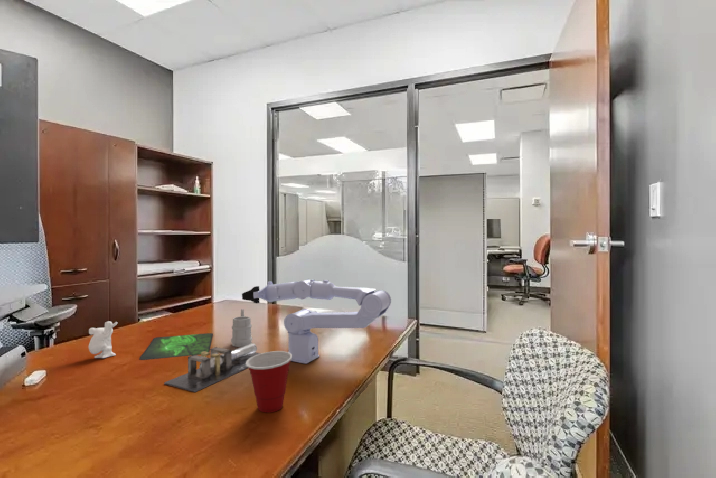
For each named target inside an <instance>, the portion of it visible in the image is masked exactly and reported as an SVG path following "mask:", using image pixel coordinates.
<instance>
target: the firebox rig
mask: <svg viewBox="0 0 716 478" xmlns="http://www.w3.org/2000/svg"><path fill="white" fill-rule="evenodd" d="M232 351H233V350H232V349H228V348H224V347H222V348H221V347H217V346H214V347H212V348H210V352H205V351H204V352H201V355H191V356H187V358H188V359H187V373H185V374H182V375H178V376H177V377H175V378H171V379H168V380H167V381H165V382H164V383H163V384H164V385H166V386H169V387H174V388H177V389H181V390H185V391H189V392H192V393H197V392H198V391H201V390H203V389H205V388H207V387H209V386H212V385H214V384H216V383H219V382H221V381H222V380H224V379H227V378H229V377H231V376H233V375H235V374H238V373H240V372H242V371H245V370H246V369H249V368H248V367H247V365H246V361H247V360H248V359H249V358H251V357H253V356H255V355H258V354H261V353H262V352H261V353H260V352H257V351H256V352H255V353H252V354H250V355H247V356H245V357H243V358H240V359H238V360H235V361H233V362H232ZM222 354H224V365H223V366H221V367H220V355H222ZM207 356H210V357H207ZM214 357H215V369H214V370H211V371H210V359H212V358H214ZM197 362H198V363H199V362H200V363H201V362H202V372H201V370H200V367H199V368H197Z"/></svg>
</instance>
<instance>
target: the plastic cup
mask: <svg viewBox="0 0 716 478" xmlns="http://www.w3.org/2000/svg"><path fill="white" fill-rule="evenodd" d="M291 359H292V354H291V353H289V352H288V351H286V350H285V351H284V350H274V351H267V352H261V354H258V355H255V356H253V357H251V358H249V359H248V360H247V361H246V365H247V367H248V368H247V369H248V370H249V372H250V376H251V380H252V385H253V392H254V396H255V400H256V406H257V409H258V411H259V412H262V413H265V414H266V413H273V412H274V413H275V412H277V411H279V410H281V409H282V408H283V405H284V401H285V394H286V391H287V382H288V375H289V374H288V373H289V371H290V366H291V365H290V364H291V362H292V361H291Z"/></svg>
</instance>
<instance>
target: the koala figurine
mask: <svg viewBox="0 0 716 478" xmlns="http://www.w3.org/2000/svg"><path fill="white" fill-rule="evenodd" d="M117 324H118V322H117V321H115V322H114V323H113V322H112V321H109V320H108V321H106V322H104V327H97V328H96V327H90V328H89V329H88V334H89V335H92V337H91V338H90V341H89V344H88V351H89V352H90V354H92V355H94V359H106V358H109V357H113V356H116V355H117V354H116V353H115V352H113V351H112V348H113V347H112V334H113V333H114V329H113V328H114V327H115V326H117Z"/></svg>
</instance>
